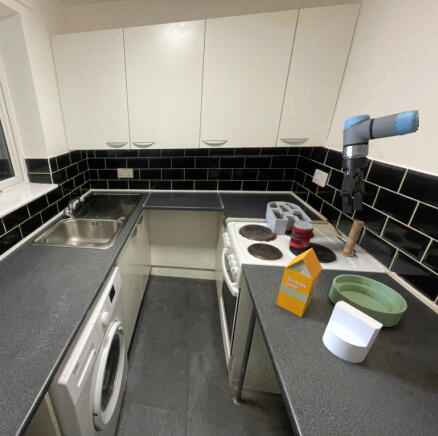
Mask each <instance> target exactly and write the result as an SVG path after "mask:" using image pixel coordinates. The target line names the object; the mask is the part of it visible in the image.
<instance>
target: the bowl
mask: <svg viewBox="0 0 438 436" xmlns="http://www.w3.org/2000/svg"><path fill="white" fill-rule="evenodd" d="M328 297H329V299H330V301H331V302H332V304H333V305H334V306H335V305H336V303H337V302H339V301H344V302H346V303H347V304H349V305H351V306H352V307H354V308H356V309H357V310H359V311H361V312H363V313H364V314H366V315H368V316H369V317H371V318H373V319H374V320H376V321H378V322H379V323H381V324H383V326H382V327H385V328H386V327H387V328H390V327H394V326H397V325H398V324H399V322H400V321H401V320H402V318H403V316H404V315H405V312H406V311H407V309H408V304H407V301H406V299H404V297H403V296H402V294H400V293H398V291H396V290H395V289H393V288H391V287H390V286H388V285H386V284H384V283H383V282H380V281H377V280H375V279H373V278H369V277H367V276H362V275H357V274H339V275H336V276H335V277H334V278H333V279H332V282H331V284H330V288H329V290H328Z"/></svg>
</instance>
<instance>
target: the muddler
mask: <svg viewBox="0 0 438 436" xmlns="http://www.w3.org/2000/svg"><path fill="white" fill-rule="evenodd" d="M364 223H365V222H364V221H362V220H359V219H355V220H354V221H353V223H352V226H351V229H350V231H349V234H348V237H347V239H346V242H345V245H344V248H343V249H342V250H341V252H340V253H341V255H342V256H344V257H348V258H353V256H354V249H355V247H356V244H357V243H358V239H359V236H360V234H361V231H362V229H363V226H364Z"/></svg>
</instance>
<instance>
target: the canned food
mask: <svg viewBox="0 0 438 436" xmlns="http://www.w3.org/2000/svg"><path fill="white" fill-rule="evenodd" d="M314 229H315V226H314V224H313V223H312V224H310V223H308V222H303V221H298V222H295V223H294V226H293V230H292V231H291V235H290V239H289V246H291V247H292V248H294V249H297V250H307V249H308V248H309V245H310V243H311V239H312V235H313V234H314V233H313V232H314Z"/></svg>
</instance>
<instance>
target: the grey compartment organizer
mask: <svg viewBox="0 0 438 436" xmlns="http://www.w3.org/2000/svg"><path fill="white" fill-rule="evenodd" d="M265 220H266V222H267V224H268V227H269V228H270V230H271V232H272V234H273V235H278V236H279V235H280V236H284V235H285V234H286V231H290V232H292V230H293V226H294V223H295V222H298V221H303V222H308V223H310V224H312V225H313V223H314V222H313V220H312V219H311V218H310V217H309V216H308V215H307V214H306V213H305V211H304V210H303V209H302V208H301V206H299V205H298V204H295V203H291V202H287V201H271V202H268V203H267V205H266V212H265Z"/></svg>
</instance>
